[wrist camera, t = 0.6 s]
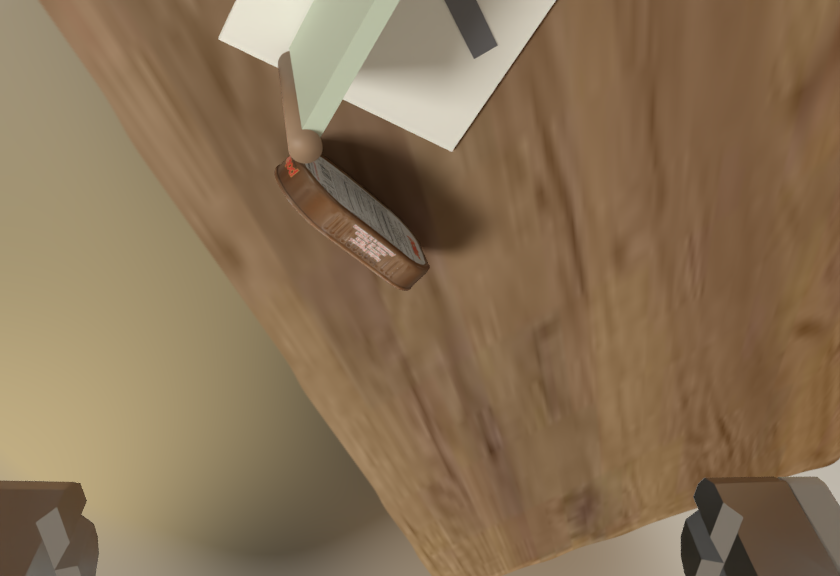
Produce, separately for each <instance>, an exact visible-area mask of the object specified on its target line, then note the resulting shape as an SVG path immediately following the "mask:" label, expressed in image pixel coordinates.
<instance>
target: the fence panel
mask: <svg viewBox="0 0 840 576" xmlns="http://www.w3.org/2000/svg"><path fill="white" fill-rule="evenodd" d="M399 1H400V0H314V1H313V3H312V5H311V7H310V9H309V11H308V13H307V15H306V17H305V18H304V20H303V22H302V24H301V26H300V28H299V30H298V32H297V34H296V36H295V38H294V40H293V41H292V43H291V45H290V47H289V51H287V52H285V53H283V54H282V55H281V56H280V58H279V60H278V70H279V78H280V86H281V94H282V102H283V110H284V118H285V126H286V134H287V142H288V150H289V154H290V156H291V157H292V158H293V159H294V160H295V161H297V162H299V163H304V164H307V163H311V162H314V161H316V160H317V159H318V158H319V157H320V156H321V154H322V150H323V146H322V141H321V135H322V134H323V132H324V130H325V129H326V127H327V125H328V123H329V122H330V120H331V118H332V117H333V115H334V113H335V111H336V110H337V108H338V106H339V104H340V103H341V101H342V99H343V98H344V96H345V94H346V92H347V91H348V89H349V87H350V85H351V84H352V82H353V80H354V79H355V77H356V75H357V73H358V72H359V70H360V68H361V67H362V65H363V63H364V61H365V60H366V58H367V56H368V54H369V53H370V51H371V49H372V48H373V46H374V44H375V42H376V41H377V39H378V37H379V35H380V34H381V32H382V30H383V29H384V27H385V25H386V23H387V22H388V20H389V18H390V17H391V15H392V13H393V11H394V10H395V8H396V6H397V4H398V3H399Z"/></svg>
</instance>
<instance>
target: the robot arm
mask: <svg viewBox="0 0 840 576" xmlns="http://www.w3.org/2000/svg"><path fill="white" fill-rule="evenodd" d="M694 500H695V502H696V505H697V507H698V509H699V510H697V511H696V512H695V513H693V514H692V515H691V516H689V517H688V518H687V519H686V520H685V524H684V527H683V531H682V534H681V559H682V564H683V569H684V573H685V576H840V506H839V504H838V503H837V501H836V499H835V498H834V496H833V495H832V493H831V491H830V490H829V488H828V487H827V485H826V484H825V483H824V482H823V481H822V480H820V479H819V478H818V477H778V478H776V477H722V478H704V479H703V480H702V481H701V482H700V483H699V484H698V486H697V488H696V491H695V494H694ZM86 501H87V500H86V497H85V495H84V492H83V489H82V487H81V484H80V483H75V482H44V481H0V576H95V575H96V568H97V562H98V555H99V551H98V550H99V549H98V536H97V533H96V529H95V526H94V524H93V523H92V522H91V521H89V520H88V519H86V518H85V517H84V516H82V515H81V514H82V511H83V509H84V506H85V504H86Z"/></svg>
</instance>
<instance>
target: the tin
mask: <svg viewBox="0 0 840 576" xmlns="http://www.w3.org/2000/svg"><path fill="white" fill-rule="evenodd" d="M275 178H276V181H277V183H278V185H279V187H280V189H281V191H282V192H283V194H284V195H285V197H286V198H287V200H288V201H289V202H290V204H291V205H292V206H293V207H294V208H295V209H296V210H297V212H298V213H299V214H300V215H301V216H302V217H303V218H304V219H305V220H306V221H307V222H308V223H309V224H310V225H312V227H314V228H315V229H316V230H317V231H319V232H320V233H321V234H322V235H324V236H325V237H327V238H328V239H329V240H331V241H332V242H333V243H335V244H336V245H338V246H339V247H340V248H341V249H343V250H344V251H346V252H347V253H348V254H350V255H351V256H352V257H354V258H355V259H356V260H358V261H359V262H360V263H362V264H363V265H365V266H366V267H367V268H369V269H370V270H371V271H373V272H374V273H375V274H377V275H378V276H379V277H381V278H382V279H383V280H385V281H386V282H387V283H389V284H390V285H392V286H393V287H395V288H398V289H400V290H404V291H408V290H410V289H411V287H412V286H413V285H414V284H415V283H416V282H417V281H418V280H419V279H420V278H421V277H422V276H423V275H424V274H425V273H426V272H427V271H428V270H429V268H430V266H429V264H428V262H427V259H426V257H425V255H424V253H423V251H422V248H421V245H420V243H419V241H418V240H417V239H416V237H415V236H414V235H413V233H412V232H411V231H410V230H409V228H408V227H407V226H406V225H405V224H404V223H403V222H402V221H401V220H400V219H399V218H398V217H397V216H396V215H395V214H394V213H393V212H392V211H391V210H389V209H388V208H387V207H386V206H385V205H383V204H382V203H381V202H380V201H379V200H378V199H376V198H375V197H374V196H373V195H372V194H370V193H369V192H368V191H367V190H366V189H365V188H363V187H362V186H361V185H360V184H358V183H357V182H356V181H355V180H354V179H352V178H351V177H350V176H349V175H347V174H346V173H345V172H344V171H342V170H341V169H340V168H339V167H338V166H336V165H335V164H334V163H333V162H331V161H330V160H329V159H327V158H326V157H325V156H323V155H322V154H321V156H320V157H319V158H318V159H317V160H316V161H314V162H311V163H307V164H304V163H299V162H297V161H295V160H294V159H293V158H292V157H291V156H289V157H288V158H287V159H286V160H285V161H284V162H283V163H282V164H281V165H278V166H277V167H276V168H275Z"/></svg>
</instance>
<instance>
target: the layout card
mask: <svg viewBox="0 0 840 576" xmlns="http://www.w3.org/2000/svg"><path fill="white" fill-rule="evenodd" d="M313 1H314V0H236V1H235V3H234V5H233V7H232V10H231V12H230V14H229V16H228V18H227V20H226V22H225V25H224V27H223V29H222V31H221V33H220V35H219V40H221V41H223V42H225V43H227V44H229V45H231V46H234V47H236V48H238V49H240V50H242V51H244V52H246V53H248V54H250V55H252V56H254V57H256V58H258V59H260V60H263V61H265V62H267V63H269V64H271V65H273V66H275V67H277V68H278V60H279V58H280V56H281V55H282V54H283V53H285V52H287V51H289V47H290V45H291V43H292V41H293V40H294V38H295V36H296V34H297V32H298V30H299V28H300V26H301V24H302V22H303V20H304V18H305V17H306V15H307V13H308V11H309V9H310V7H311V5H312V3H313ZM555 1H556V0H400V1H399V3H398V4H397V6H396V8H395V10H394V11H393V13H392V15H391V17H390V18H389V20H388V22H387V23H386V25H385V27H384V29H383V30H382V32H381V34H380V35H379V37H378V39H377V41H376V42H375V44H374V46H373V48H372V49H371V51H370V53H369V54H368V56H367V58H366V60H365V61H364V63H363V65H362V67H361V68H360V70H359V72H358V73H357V75H356V77H355V79H354V80H353V82H352V84H351V85H350V87H349V89H348V91H347V92H346V94H345V96H344V98H343V100H346V101H348V102H350V103H352V104H354V105H356V106H358V107H360V108H362V109H364V110H366V111H368V112H370V113H372V114H375V115H377V116H379V117H381V118H383V119H385V120H387V121H389V122H391V123H393V124H395V125H397V126H399V127H401V128H404V129H406V130H408V131H410V132H412V133H414V134H416V135H418V136H420V137H422V138H424V139H426V140H428V141H431V142H433V143H435V144H437V145H439V146H441V147H443V148H445V149H447V150H449V151H451V152H452V151H453V149H454V148H455V146H456V145H457V143H458V142H459V140H460V139H461V138H462V136H463V135H464V133H465V132H466V130H467V129H468V127H469V126H470V124H471V123H472V122H473V120H474V119H475V117H476V116H477V114H478V113H479V111H480V110H481V109H482V107H483V106H484V104H485V103H486V101H487V100H488V98H489V97H490V95H491V94H492V93H493V91H494V90H495V88H496V87H497V85H498V84H499V82H500V81H501V79H502V78H503V77H504V75H505V74H506V72H507V71H508V69H509V68H510V66H511V65H512V63H513V62H514V61H515V59H516V58H517V56H518V55H519V53H520V52H521V50H522V49H523V47H524V46H525V45H526V43H527V42H528V40H529V39H530V37H531V36H532V34H533V33H534V31H535V30H536V29H537V27H538V26H539V24H540V23H541V21H542V20H543V18H544V17H545V15H546V14H547V13H548V11H549V10H550V8H551V7H552V5H553V4H554V2H555Z"/></svg>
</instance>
